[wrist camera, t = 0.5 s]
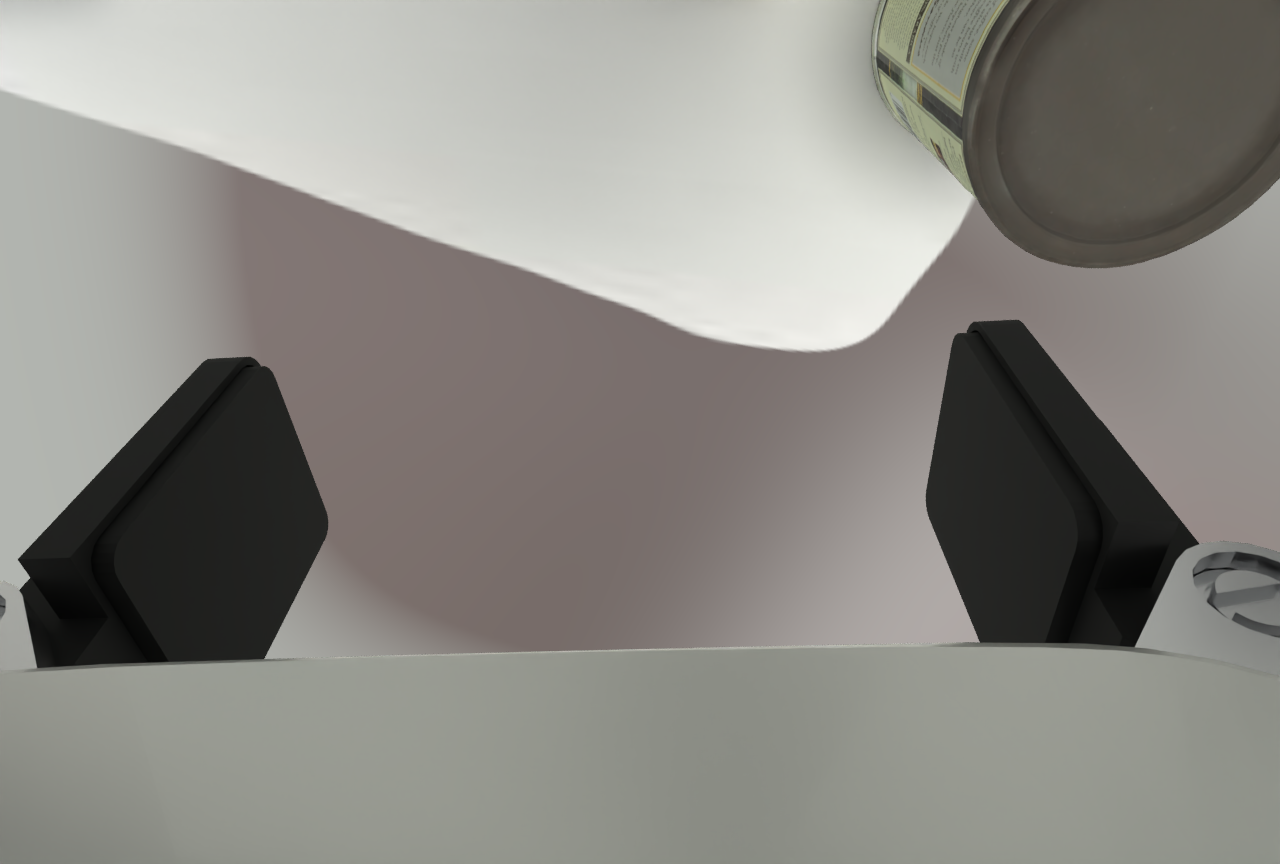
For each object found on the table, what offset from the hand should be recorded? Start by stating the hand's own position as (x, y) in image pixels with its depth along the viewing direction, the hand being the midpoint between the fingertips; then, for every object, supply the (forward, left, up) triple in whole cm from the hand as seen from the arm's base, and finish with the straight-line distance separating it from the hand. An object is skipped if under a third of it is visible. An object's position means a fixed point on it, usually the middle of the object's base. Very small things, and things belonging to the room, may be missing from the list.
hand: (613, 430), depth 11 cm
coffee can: (0, +15, -30) cm, 33 cm away
